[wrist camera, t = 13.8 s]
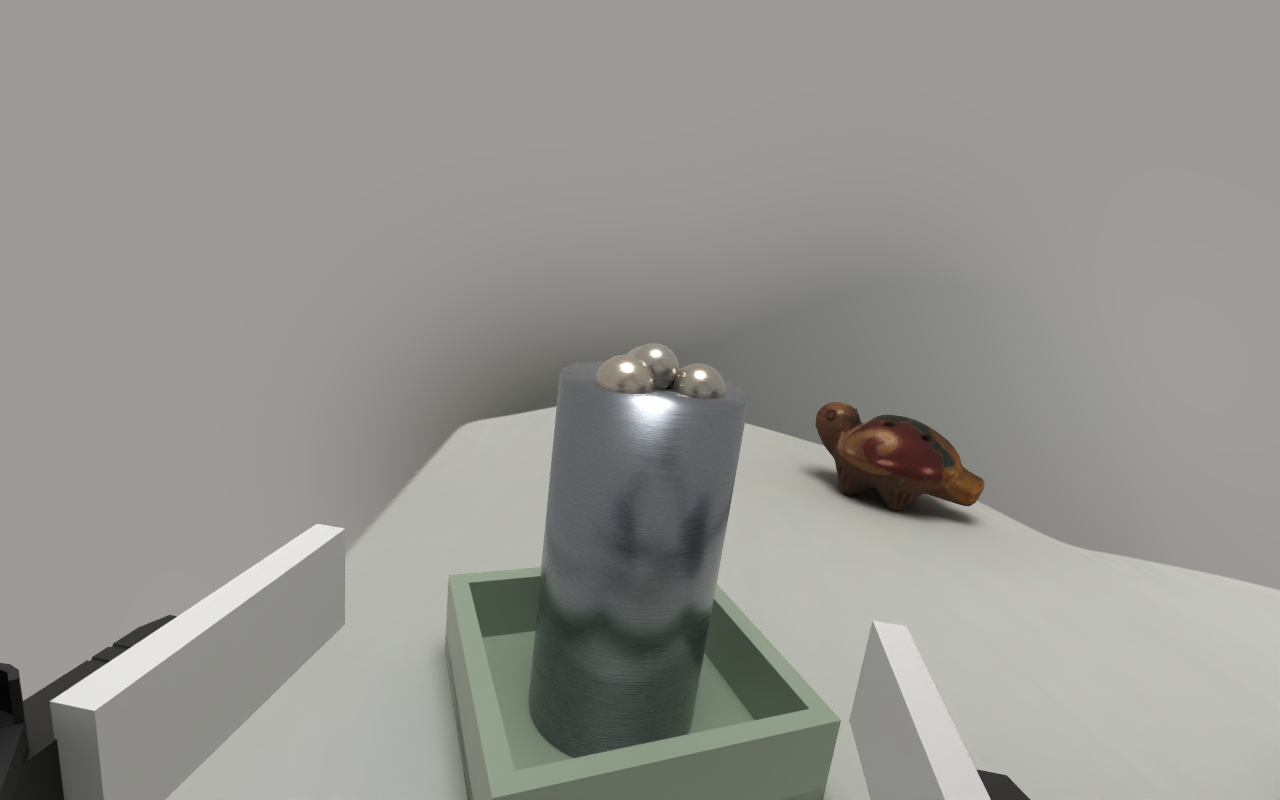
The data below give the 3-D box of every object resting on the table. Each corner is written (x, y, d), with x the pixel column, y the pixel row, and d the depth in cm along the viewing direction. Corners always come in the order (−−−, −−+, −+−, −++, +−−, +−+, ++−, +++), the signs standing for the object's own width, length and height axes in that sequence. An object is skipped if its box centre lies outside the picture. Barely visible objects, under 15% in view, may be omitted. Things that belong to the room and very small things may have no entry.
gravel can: (655, 639, 31) (702, 331, 28) (722, 748, 25) (794, 369, 21) (514, 658, 29) (544, 320, 25) (549, 784, 23) (597, 360, 19)
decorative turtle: (811, 463, 66) (832, 389, 64) (968, 515, 60) (996, 435, 58) (787, 484, 57) (810, 400, 56) (967, 547, 51) (1000, 454, 49)
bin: (680, 619, 35) (689, 554, 34) (820, 809, 24) (840, 720, 23) (445, 650, 31) (448, 575, 30) (484, 905, 19) (492, 798, 18)
